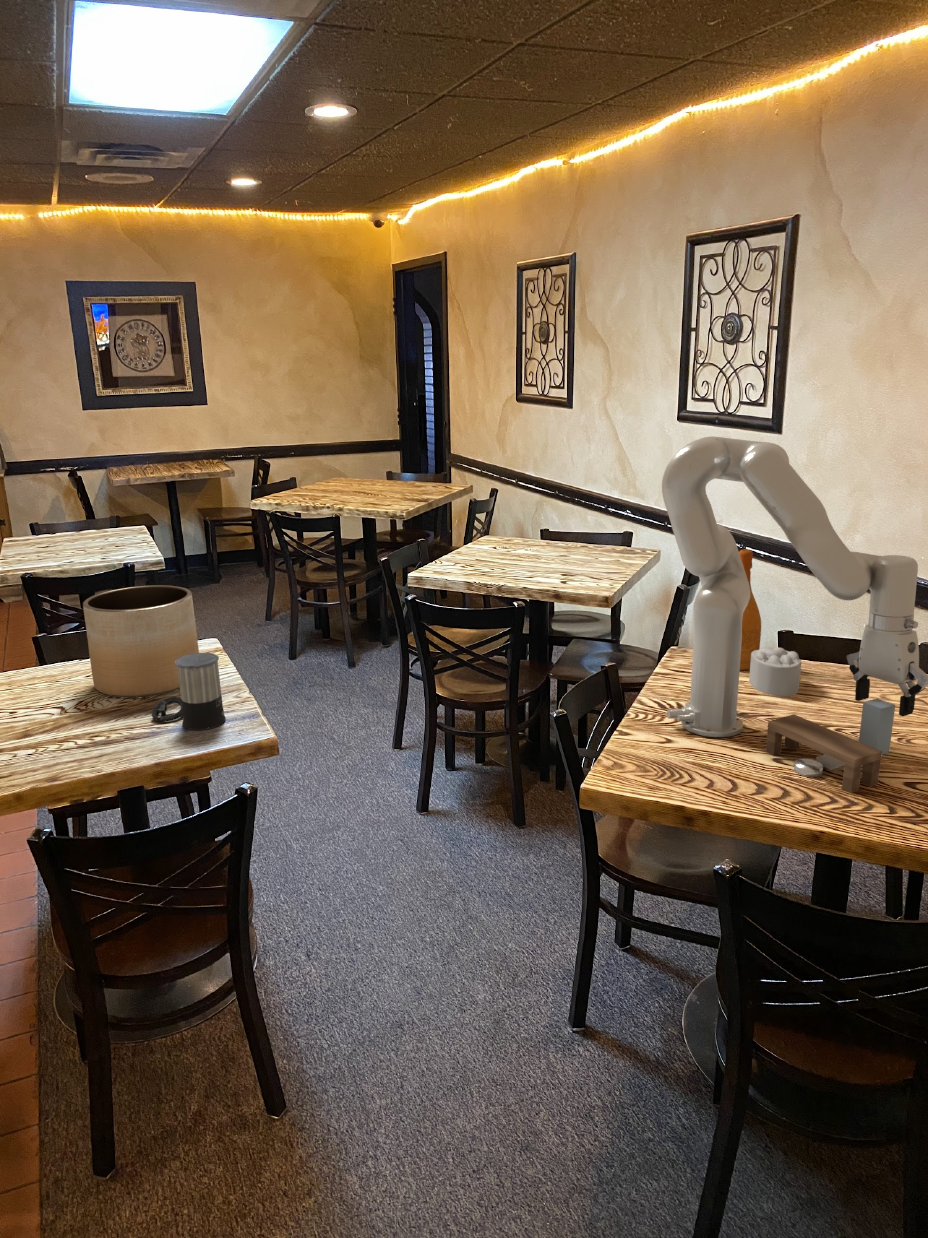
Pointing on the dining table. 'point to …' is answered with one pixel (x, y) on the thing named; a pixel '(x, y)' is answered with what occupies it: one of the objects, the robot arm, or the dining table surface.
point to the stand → (827, 748)
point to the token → (808, 767)
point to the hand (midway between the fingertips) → (883, 706)
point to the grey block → (870, 729)
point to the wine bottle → (749, 618)
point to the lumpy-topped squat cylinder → (775, 671)
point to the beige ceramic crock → (139, 639)
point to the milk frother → (196, 693)
